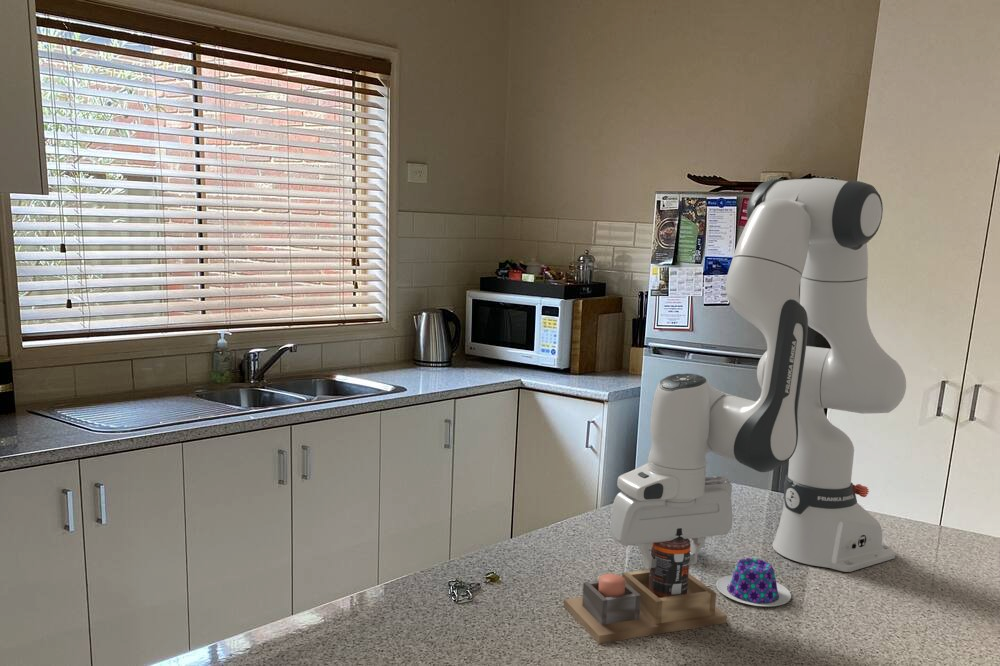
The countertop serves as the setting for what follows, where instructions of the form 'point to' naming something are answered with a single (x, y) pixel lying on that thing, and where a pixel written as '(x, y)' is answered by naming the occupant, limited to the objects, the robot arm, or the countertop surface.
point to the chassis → (643, 609)
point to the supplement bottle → (670, 567)
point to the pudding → (754, 584)
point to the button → (611, 585)
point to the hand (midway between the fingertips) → (669, 565)
